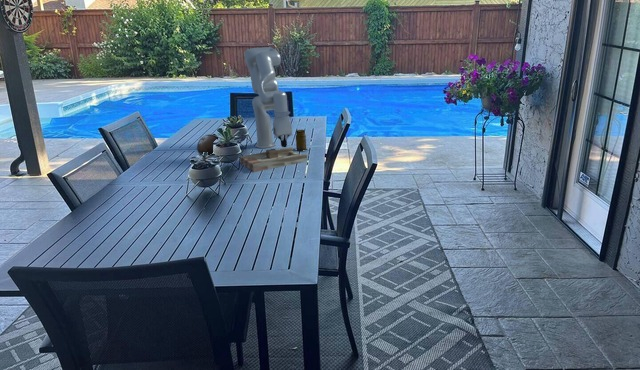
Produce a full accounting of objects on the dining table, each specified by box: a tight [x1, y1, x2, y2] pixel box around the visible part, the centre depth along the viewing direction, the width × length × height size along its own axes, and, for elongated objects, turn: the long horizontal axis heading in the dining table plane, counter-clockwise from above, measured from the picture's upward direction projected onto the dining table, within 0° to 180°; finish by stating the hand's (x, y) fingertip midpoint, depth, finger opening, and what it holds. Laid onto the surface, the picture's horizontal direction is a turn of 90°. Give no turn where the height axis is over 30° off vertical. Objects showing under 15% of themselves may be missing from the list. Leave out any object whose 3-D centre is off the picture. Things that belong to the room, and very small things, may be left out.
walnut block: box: [265, 148, 279, 159], centre depth 273 cm, size 5×5×4 cm
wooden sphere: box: [196, 134, 220, 156], centre depth 279 cm, size 15×15×15 cm
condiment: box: [293, 129, 307, 153], centre depth 291 cm, size 7×8×12 cm
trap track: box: [239, 146, 308, 173], centre depth 269 cm, size 20×32×4 cm, turn 119°
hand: (284, 146), depth 274 cm, fingers closed
